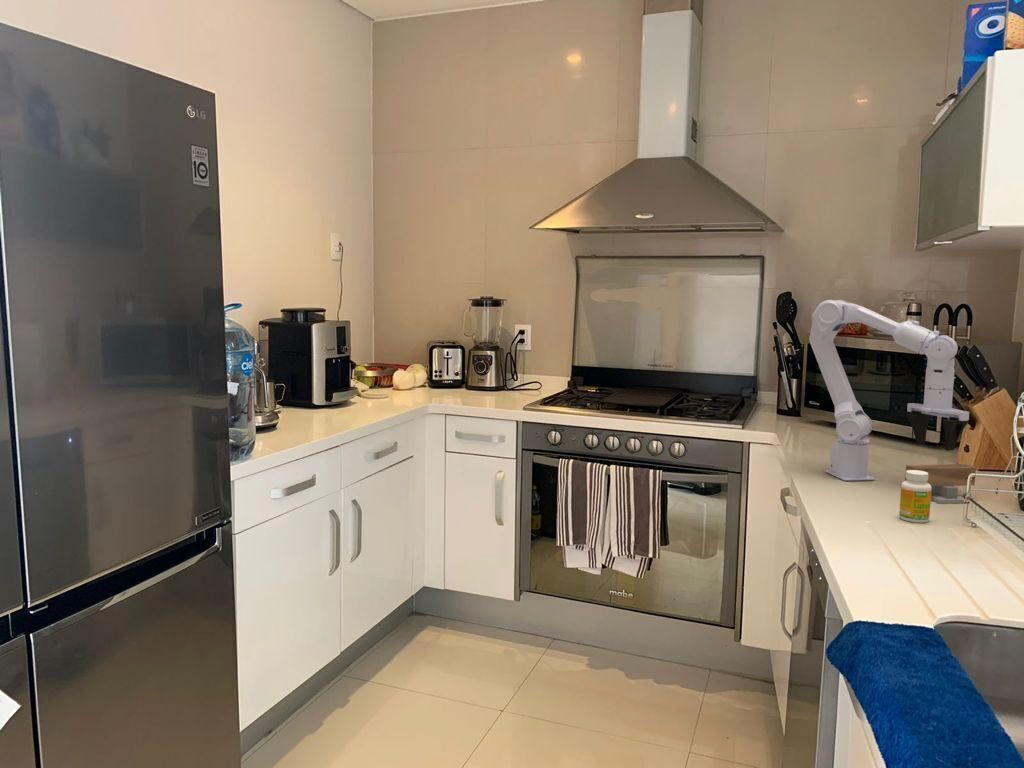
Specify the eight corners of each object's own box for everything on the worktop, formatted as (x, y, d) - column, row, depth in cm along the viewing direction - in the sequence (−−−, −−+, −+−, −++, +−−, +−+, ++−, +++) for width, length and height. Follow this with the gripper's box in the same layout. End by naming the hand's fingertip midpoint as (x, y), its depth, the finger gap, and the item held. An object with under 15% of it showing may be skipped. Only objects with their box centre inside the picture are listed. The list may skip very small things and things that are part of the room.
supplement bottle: (913, 524, 153) (916, 475, 152) (892, 516, 158) (896, 469, 157) (935, 522, 154) (939, 474, 153) (914, 514, 159) (918, 468, 158)
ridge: (914, 493, 176) (915, 479, 176) (943, 492, 177) (944, 478, 177) (939, 503, 168) (940, 489, 167) (969, 503, 168) (970, 488, 168)
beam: (904, 482, 173) (906, 465, 172) (963, 481, 174) (965, 464, 174) (914, 486, 169) (915, 468, 169) (974, 485, 171) (976, 467, 170)
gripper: (899, 385, 183) (895, 442, 184) (955, 393, 169) (950, 454, 171) (921, 384, 185) (917, 440, 187) (977, 391, 172) (972, 451, 174)
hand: (934, 446), depth 179 cm, fingers open, 7 cm apart
